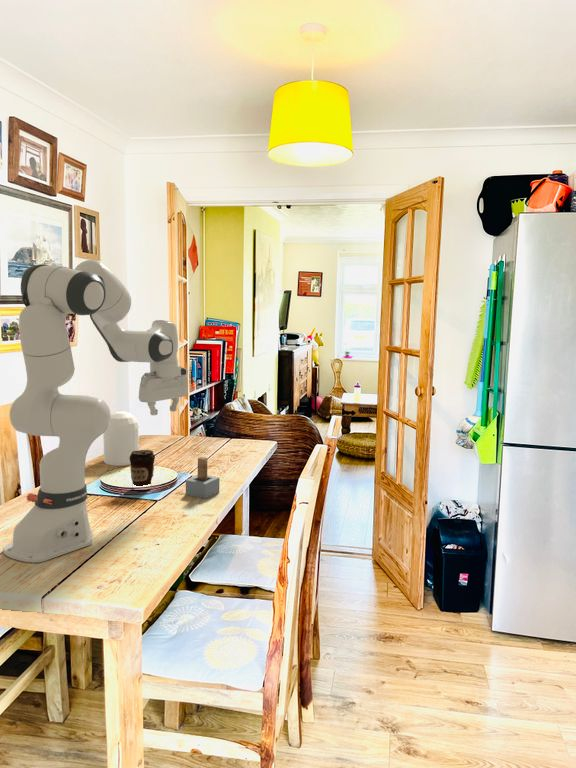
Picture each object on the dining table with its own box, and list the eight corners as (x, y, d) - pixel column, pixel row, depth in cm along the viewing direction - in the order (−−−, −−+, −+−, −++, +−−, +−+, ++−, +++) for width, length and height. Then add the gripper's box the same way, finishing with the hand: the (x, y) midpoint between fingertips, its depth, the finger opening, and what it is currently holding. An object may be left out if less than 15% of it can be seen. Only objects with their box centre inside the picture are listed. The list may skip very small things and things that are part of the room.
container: (137, 455, 239) (136, 407, 237) (141, 464, 227) (140, 413, 224) (102, 457, 235) (101, 408, 232) (105, 466, 222) (104, 415, 219)
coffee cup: (148, 494, 193) (147, 455, 191) (125, 491, 194) (124, 454, 193) (159, 486, 201) (158, 449, 199) (136, 483, 203) (136, 447, 201)
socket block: (205, 498, 190) (205, 484, 189) (185, 494, 193) (185, 480, 193) (219, 492, 197) (219, 477, 196) (200, 487, 200) (200, 473, 200)
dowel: (203, 495, 193) (203, 460, 191) (195, 493, 194) (195, 458, 193) (209, 492, 196) (209, 458, 194) (201, 491, 197) (201, 456, 195)
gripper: (149, 373, 178) (149, 418, 179) (191, 369, 196) (190, 410, 197) (133, 372, 181) (133, 416, 182) (176, 368, 199) (176, 408, 200)
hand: (163, 413), depth 190 cm, fingers open, 8 cm apart
